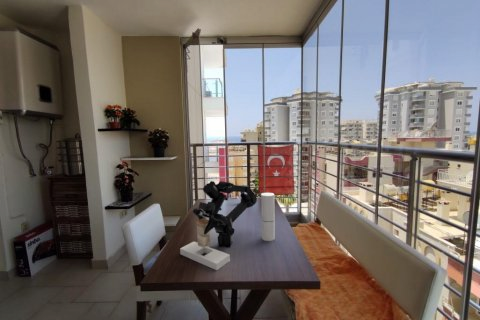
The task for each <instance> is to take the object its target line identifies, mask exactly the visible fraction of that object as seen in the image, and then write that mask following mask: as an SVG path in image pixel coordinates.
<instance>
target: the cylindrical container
mask: <svg viewBox="0 0 480 320" xmlns="http://www.w3.org/2000/svg"><path fill="white" fill-rule="evenodd" d="M260 194H261V195H260V201H261V203H260V204H261V206H260V207H261V208H260V209H261V210H260V211H261V240H262V241H264V242H272V241H275V238H276V237H275V236H276V235H275V234H276V233H275V232H276V230H275V229H276V228H275V227H276V226H275V224H276V222H275V218H276V217H275V214H276V212H275V210H276V209H275V193H273V192H262V193H260Z"/></svg>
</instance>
